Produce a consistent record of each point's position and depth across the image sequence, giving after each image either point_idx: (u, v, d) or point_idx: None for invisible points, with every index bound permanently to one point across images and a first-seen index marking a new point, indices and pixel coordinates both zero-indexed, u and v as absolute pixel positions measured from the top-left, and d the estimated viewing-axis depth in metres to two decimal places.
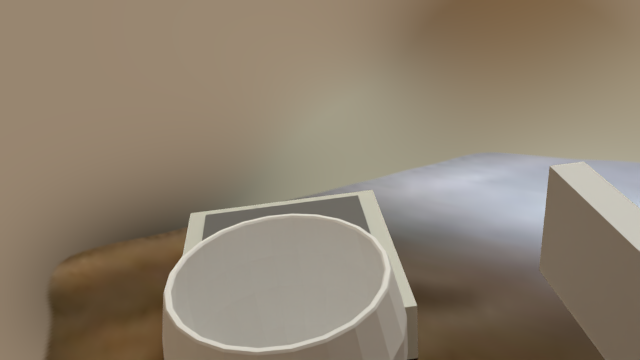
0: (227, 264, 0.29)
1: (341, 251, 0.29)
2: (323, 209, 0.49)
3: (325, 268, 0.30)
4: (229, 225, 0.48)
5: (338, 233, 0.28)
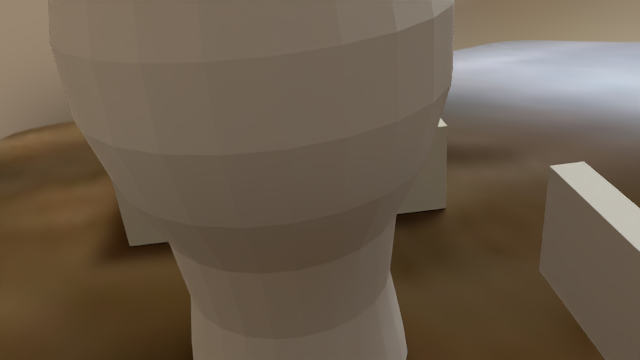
0: None
1: None
2: None
3: None
4: None
5: None
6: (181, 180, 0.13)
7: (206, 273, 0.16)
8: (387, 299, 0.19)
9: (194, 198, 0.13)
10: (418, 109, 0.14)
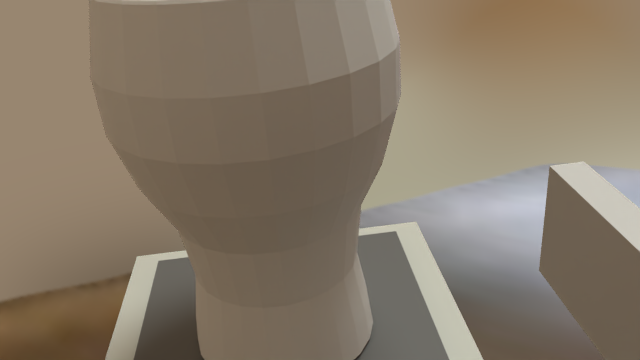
0: None
1: None
2: None
3: None
4: (193, 280, 0.30)
5: None
6: (192, 183, 0.18)
7: (209, 255, 0.21)
8: (354, 277, 0.24)
9: (202, 196, 0.18)
10: (369, 128, 0.18)
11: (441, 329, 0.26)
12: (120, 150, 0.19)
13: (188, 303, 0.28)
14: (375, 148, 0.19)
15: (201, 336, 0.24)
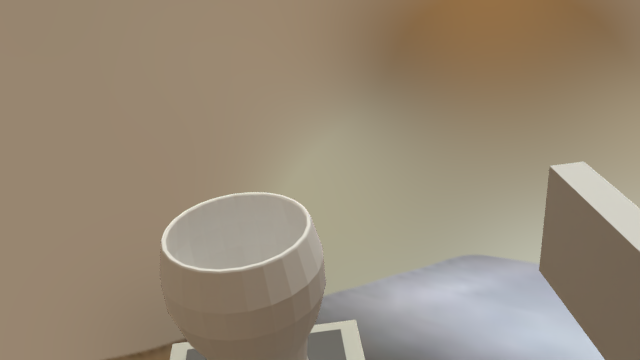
0: (205, 227, 0.42)
1: (285, 218, 0.42)
2: None
3: (275, 231, 0.43)
4: None
5: (281, 205, 0.41)
6: (214, 346, 0.35)
7: None
8: None
9: (219, 351, 0.36)
10: (304, 315, 0.36)
11: None
12: (177, 325, 0.37)
13: None
14: (309, 320, 0.37)
15: None
